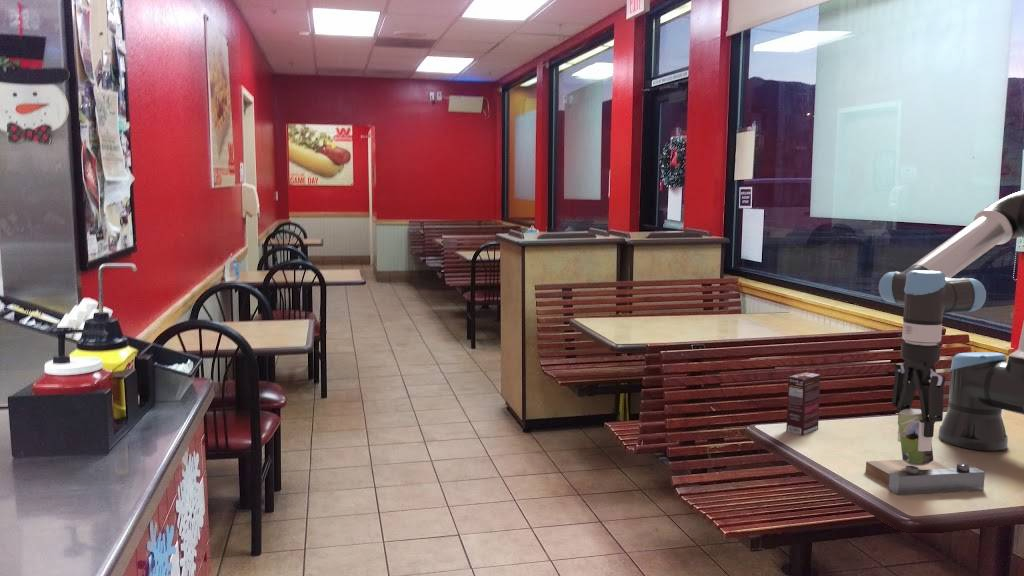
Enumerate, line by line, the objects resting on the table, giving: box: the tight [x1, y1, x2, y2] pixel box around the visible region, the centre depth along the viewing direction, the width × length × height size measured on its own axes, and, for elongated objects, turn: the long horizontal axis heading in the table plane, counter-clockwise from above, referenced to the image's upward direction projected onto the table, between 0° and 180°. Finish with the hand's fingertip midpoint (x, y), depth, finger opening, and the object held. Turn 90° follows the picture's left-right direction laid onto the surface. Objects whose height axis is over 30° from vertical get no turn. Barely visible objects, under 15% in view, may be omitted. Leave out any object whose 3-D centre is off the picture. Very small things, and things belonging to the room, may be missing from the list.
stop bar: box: [888, 462, 986, 496], centre depth 164 cm, size 20×3×5 cm, turn 99°
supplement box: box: [785, 371, 821, 436], centre depth 202 cm, size 9×5×16 cm, turn 131°
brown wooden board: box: [865, 459, 951, 486], centre depth 171 cm, size 16×10×3 cm, turn 99°
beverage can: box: [897, 408, 934, 466], centre depth 169 cm, size 6×7×12 cm
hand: (913, 445), depth 170 cm, fingers closed on beverage can, 6 cm apart
